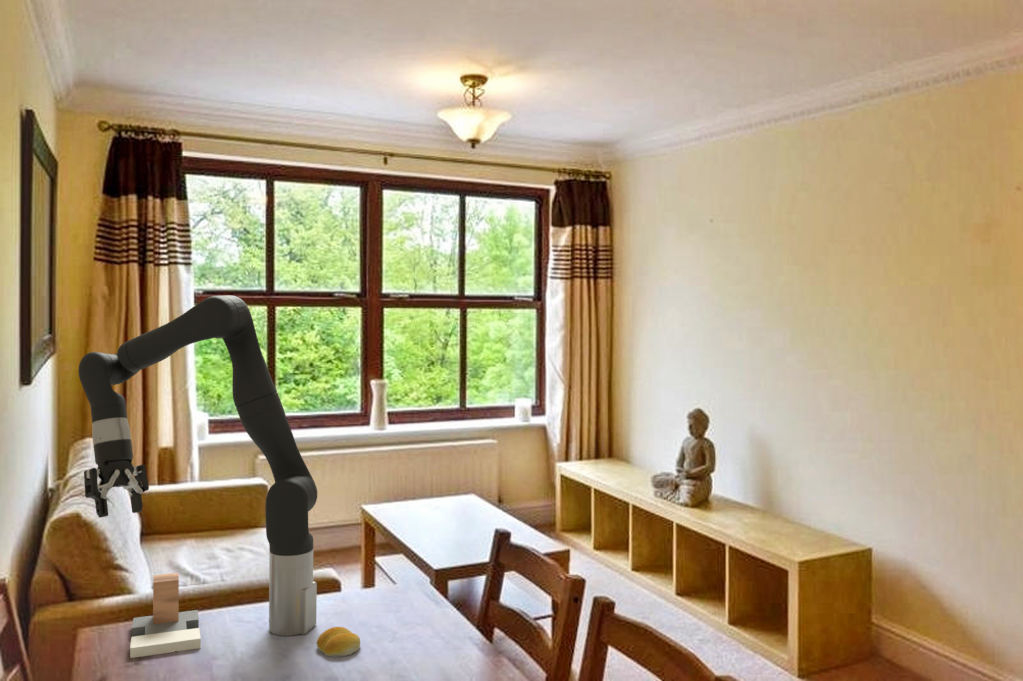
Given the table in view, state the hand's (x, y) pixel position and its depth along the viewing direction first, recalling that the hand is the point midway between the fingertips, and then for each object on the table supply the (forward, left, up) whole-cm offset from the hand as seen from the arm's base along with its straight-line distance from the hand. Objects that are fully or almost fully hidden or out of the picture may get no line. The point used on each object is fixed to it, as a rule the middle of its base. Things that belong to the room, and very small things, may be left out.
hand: (120, 514), depth 173 cm
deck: (-12, +1, -24) cm, 27 cm away
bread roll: (-51, +2, -25) cm, 56 cm away
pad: (-16, +8, -24) cm, 30 cm away
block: (-10, -1, -22) cm, 25 cm away
